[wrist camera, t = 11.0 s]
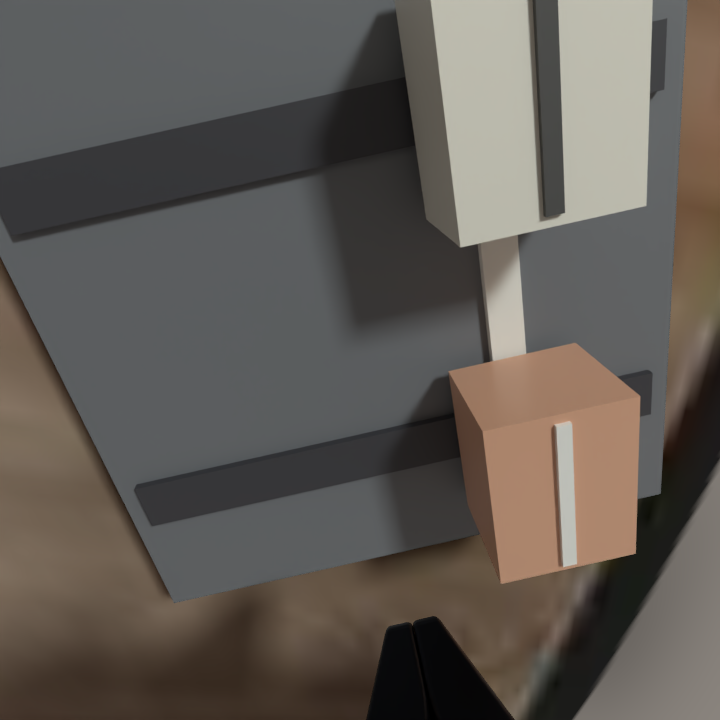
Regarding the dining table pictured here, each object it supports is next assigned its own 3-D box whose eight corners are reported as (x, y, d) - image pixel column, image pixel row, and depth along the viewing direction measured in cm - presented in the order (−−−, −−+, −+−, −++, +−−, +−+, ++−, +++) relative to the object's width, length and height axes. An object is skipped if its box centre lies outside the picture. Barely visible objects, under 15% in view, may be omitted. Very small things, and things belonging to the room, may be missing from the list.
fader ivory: (571, 187, 11) (649, 207, 8) (426, 219, 11) (462, 249, 8) (564, -54, 9) (661, -118, 7) (391, -16, 9) (424, -66, 7)
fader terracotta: (579, 479, 14) (638, 557, 11) (467, 505, 14) (502, 587, 11) (575, 342, 12) (643, 398, 10) (448, 371, 12) (484, 434, 10)
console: (630, 462, 16) (665, 499, 15) (185, 562, 16) (172, 610, 15) (645, -183, 10) (710, -240, 8) (-87, -20, 10) (-162, -46, 8)
